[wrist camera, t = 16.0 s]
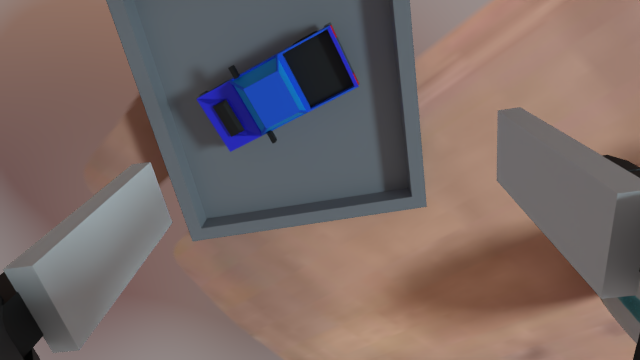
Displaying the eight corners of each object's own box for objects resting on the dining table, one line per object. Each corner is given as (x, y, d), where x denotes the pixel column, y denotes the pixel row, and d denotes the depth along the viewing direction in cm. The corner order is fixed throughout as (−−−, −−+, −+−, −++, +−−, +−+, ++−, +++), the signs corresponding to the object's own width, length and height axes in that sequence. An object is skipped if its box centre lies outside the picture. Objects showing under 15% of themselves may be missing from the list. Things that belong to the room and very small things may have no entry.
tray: (108, -40, 31) (90, -43, 28) (394, -102, 29) (400, -111, 26) (200, 227, 40) (192, 241, 38) (420, 194, 38) (426, 206, 36)
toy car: (199, 83, 34) (179, 95, 29) (326, 12, 31) (325, 13, 27) (241, 149, 36) (228, 170, 31) (361, 88, 34) (367, 101, 29)
